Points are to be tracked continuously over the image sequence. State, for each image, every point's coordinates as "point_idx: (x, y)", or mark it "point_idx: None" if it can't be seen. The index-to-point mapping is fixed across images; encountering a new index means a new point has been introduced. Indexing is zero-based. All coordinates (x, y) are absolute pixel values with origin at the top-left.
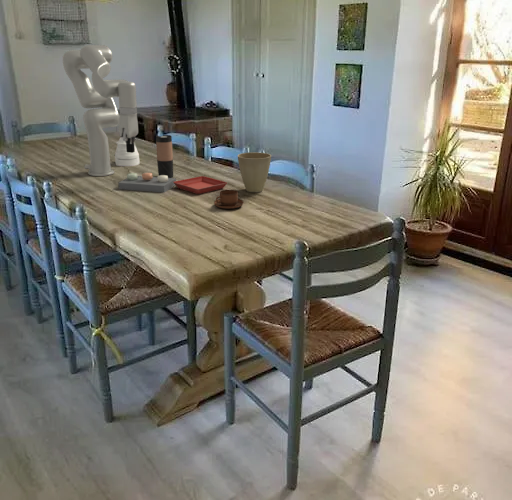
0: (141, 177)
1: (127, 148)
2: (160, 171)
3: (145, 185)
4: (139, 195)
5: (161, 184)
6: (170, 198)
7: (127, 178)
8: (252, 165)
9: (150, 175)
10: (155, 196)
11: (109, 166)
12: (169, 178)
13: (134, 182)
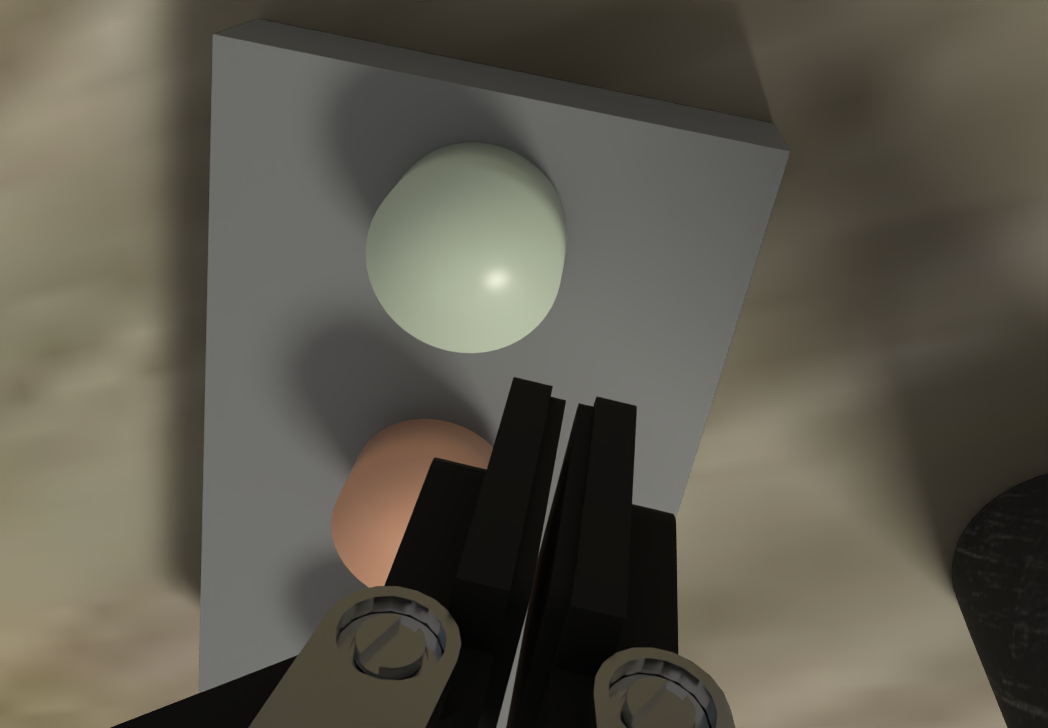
0: (632, 347)
1: (423, 493)
2: (1016, 578)
3: (209, 473)
4: (28, 393)
5: (254, 659)
6: (31, 700)
7: (421, 160)
8: None
9: (373, 579)
10: (50, 565)
11: None
12: None
13: (280, 309)
